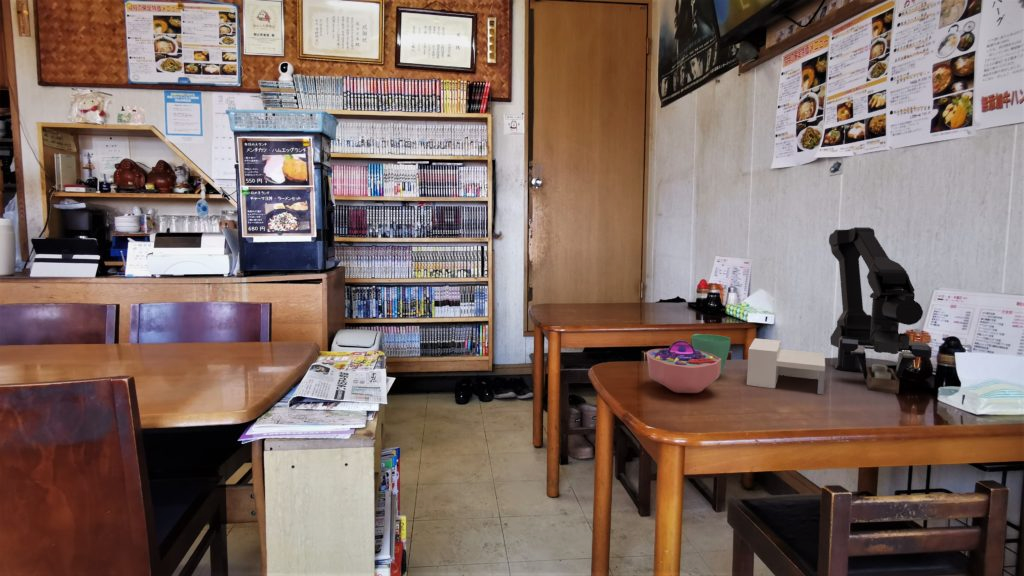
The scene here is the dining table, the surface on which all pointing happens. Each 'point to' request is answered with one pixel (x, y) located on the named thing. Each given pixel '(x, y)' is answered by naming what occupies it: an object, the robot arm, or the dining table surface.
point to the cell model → (683, 367)
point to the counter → (782, 364)
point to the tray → (881, 379)
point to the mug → (712, 345)
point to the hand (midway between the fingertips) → (880, 380)
